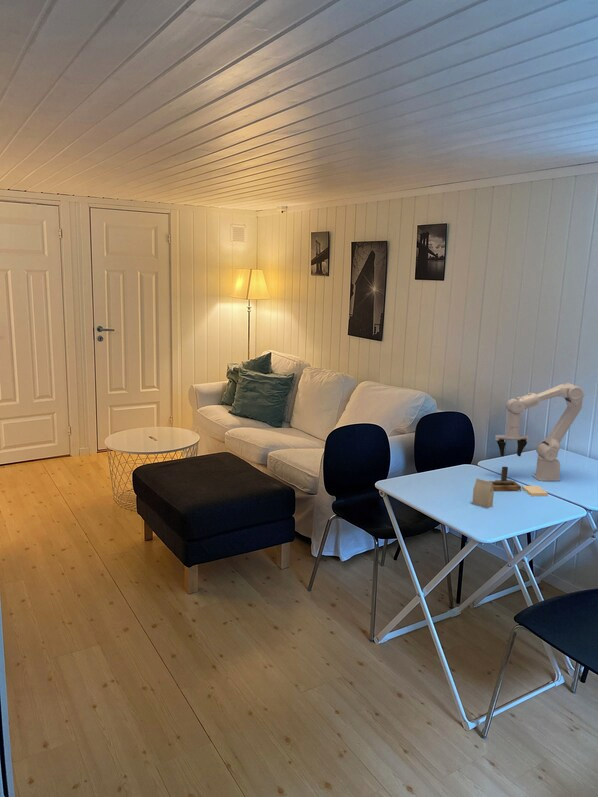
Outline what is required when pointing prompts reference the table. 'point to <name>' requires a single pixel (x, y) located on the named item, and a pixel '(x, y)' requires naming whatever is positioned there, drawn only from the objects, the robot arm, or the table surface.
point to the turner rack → (506, 487)
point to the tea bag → (483, 493)
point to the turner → (503, 478)
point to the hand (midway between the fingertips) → (510, 455)
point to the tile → (534, 491)
